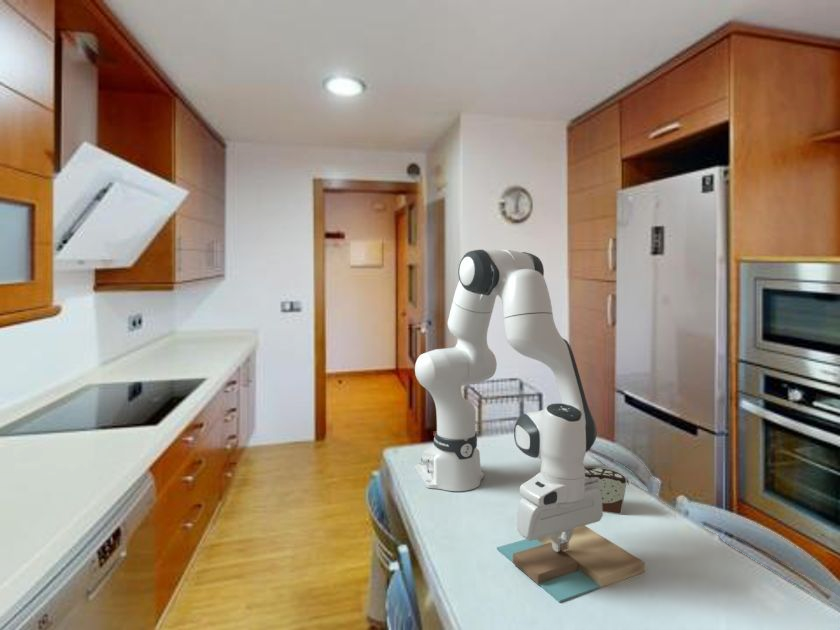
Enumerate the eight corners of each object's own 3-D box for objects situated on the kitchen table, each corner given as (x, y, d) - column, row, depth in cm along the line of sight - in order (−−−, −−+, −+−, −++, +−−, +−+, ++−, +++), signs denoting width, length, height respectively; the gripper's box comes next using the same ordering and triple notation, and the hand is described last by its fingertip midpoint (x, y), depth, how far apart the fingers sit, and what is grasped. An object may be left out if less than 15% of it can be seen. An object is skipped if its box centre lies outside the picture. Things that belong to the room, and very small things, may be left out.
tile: (512, 563, 105) (513, 553, 104) (550, 551, 109) (550, 542, 109) (538, 584, 98) (538, 574, 97) (577, 570, 102) (577, 561, 102)
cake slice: (626, 505, 132) (627, 467, 131) (627, 515, 126) (629, 476, 125) (576, 498, 136) (577, 461, 135) (576, 508, 130) (577, 470, 129)
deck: (533, 538, 115) (533, 530, 115) (573, 527, 120) (574, 519, 120) (600, 587, 97) (600, 577, 97) (644, 571, 102) (644, 562, 102)
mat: (496, 549, 111) (496, 547, 111) (533, 538, 115) (533, 537, 115) (559, 602, 93) (559, 600, 93) (600, 587, 97) (600, 585, 97)
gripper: (588, 470, 112) (586, 530, 113) (512, 487, 103) (511, 553, 104) (611, 481, 106) (608, 544, 107) (533, 500, 97) (531, 569, 98)
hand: (560, 549), depth 105 cm, fingers closed
